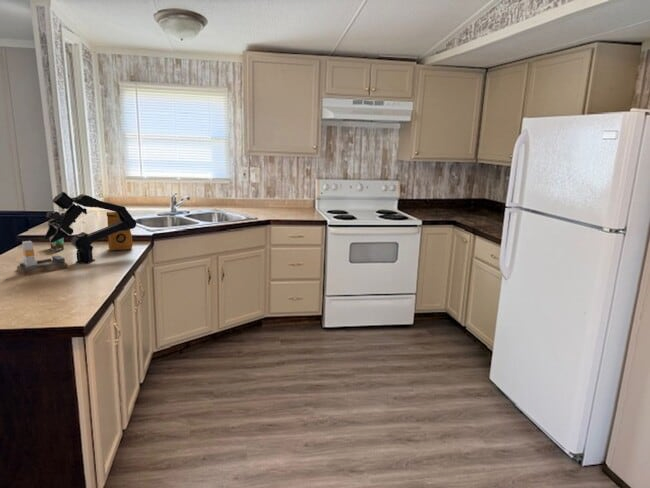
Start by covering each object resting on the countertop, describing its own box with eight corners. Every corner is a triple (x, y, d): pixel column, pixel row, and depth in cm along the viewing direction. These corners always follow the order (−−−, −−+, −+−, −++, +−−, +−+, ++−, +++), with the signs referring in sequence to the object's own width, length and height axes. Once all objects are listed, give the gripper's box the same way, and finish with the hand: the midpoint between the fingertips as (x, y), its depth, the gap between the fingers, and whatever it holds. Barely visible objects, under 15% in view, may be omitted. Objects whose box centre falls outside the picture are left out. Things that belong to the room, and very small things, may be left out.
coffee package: (133, 250, 249) (130, 212, 244) (109, 252, 244) (105, 213, 239) (132, 246, 258) (129, 209, 253) (108, 248, 252) (105, 210, 247)
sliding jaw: (32, 264, 210) (29, 239, 207) (37, 267, 205) (34, 242, 202) (23, 265, 207) (19, 241, 205) (27, 269, 202) (24, 243, 200)
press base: (59, 262, 221) (58, 254, 220) (68, 267, 213) (67, 259, 212) (17, 269, 208) (16, 260, 207) (24, 275, 200) (23, 265, 199)
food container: (69, 250, 245) (67, 233, 243) (57, 252, 241) (55, 234, 238) (62, 246, 253) (60, 229, 251) (50, 248, 249) (48, 230, 247)
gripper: (50, 202, 216) (26, 227, 210) (63, 207, 204) (39, 233, 198) (69, 216, 223) (47, 241, 218) (83, 221, 211) (60, 247, 206)
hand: (48, 240), depth 210 cm, fingers open, 9 cm apart
